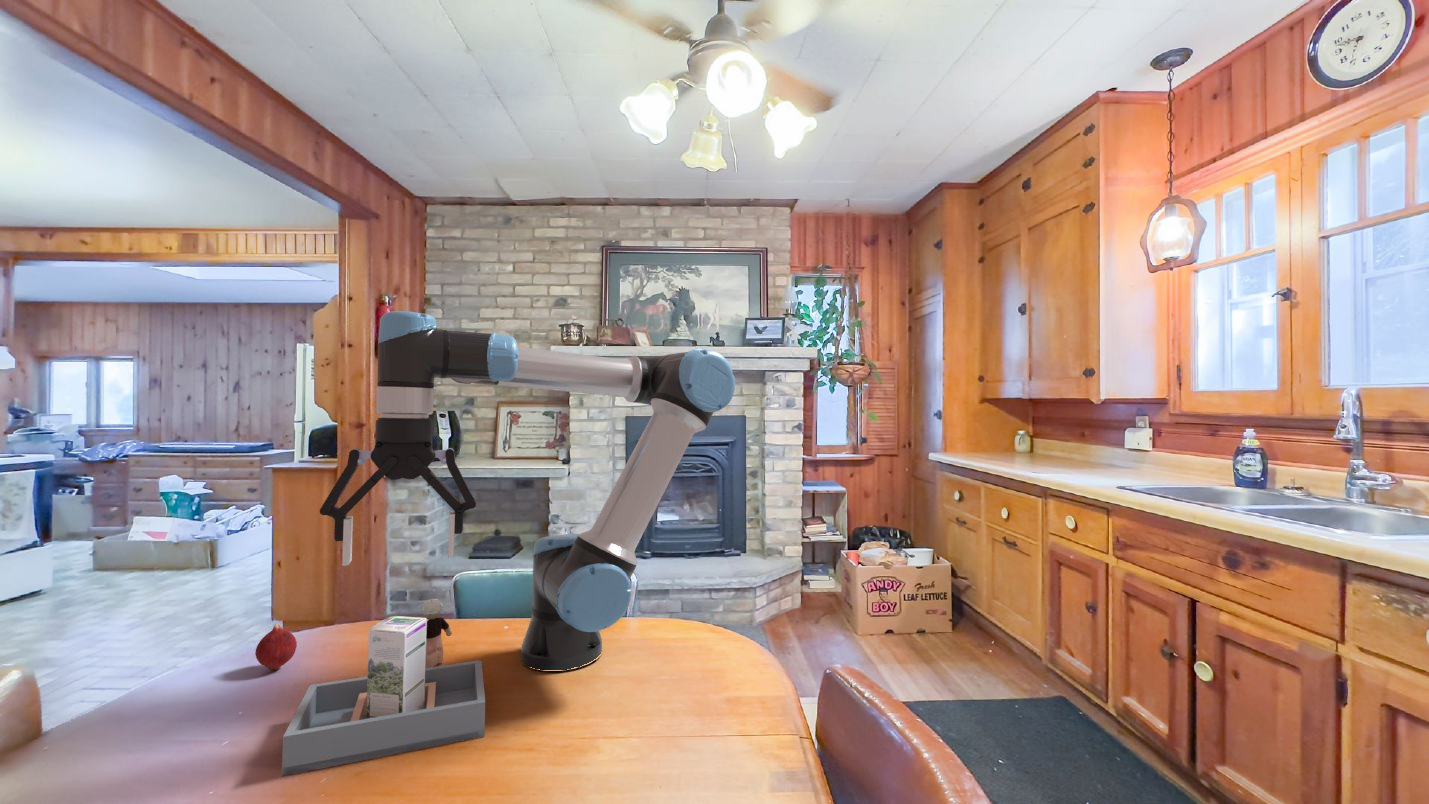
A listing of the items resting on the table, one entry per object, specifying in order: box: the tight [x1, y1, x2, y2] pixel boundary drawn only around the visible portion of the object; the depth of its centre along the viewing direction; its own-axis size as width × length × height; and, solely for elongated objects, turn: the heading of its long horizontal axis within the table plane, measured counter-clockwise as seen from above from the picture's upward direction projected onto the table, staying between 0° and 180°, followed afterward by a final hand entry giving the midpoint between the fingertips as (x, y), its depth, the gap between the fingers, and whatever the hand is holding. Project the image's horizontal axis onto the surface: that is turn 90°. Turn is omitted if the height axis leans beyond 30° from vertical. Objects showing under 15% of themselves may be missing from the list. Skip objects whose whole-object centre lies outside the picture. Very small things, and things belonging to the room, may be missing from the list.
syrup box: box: [366, 615, 428, 719], centre depth 85 cm, size 6×6×14 cm
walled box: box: [281, 659, 486, 777], centre depth 85 cm, size 24×15×5 cm, turn 114°
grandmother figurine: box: [422, 598, 453, 668], centre depth 104 cm, size 8×4×13 cm, turn 164°
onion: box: [254, 623, 298, 671], centre depth 102 cm, size 6×6×8 cm
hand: (400, 559), depth 85 cm, fingers open, 13 cm apart
